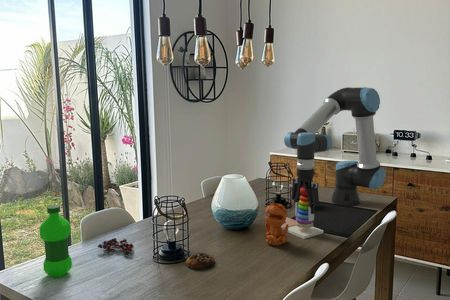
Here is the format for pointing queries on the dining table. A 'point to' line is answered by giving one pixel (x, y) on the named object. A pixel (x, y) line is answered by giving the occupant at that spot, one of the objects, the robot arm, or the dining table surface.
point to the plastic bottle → (56, 243)
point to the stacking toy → (303, 211)
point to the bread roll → (200, 261)
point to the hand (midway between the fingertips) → (304, 218)
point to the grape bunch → (121, 245)
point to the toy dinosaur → (276, 224)
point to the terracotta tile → (289, 222)
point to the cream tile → (304, 231)
